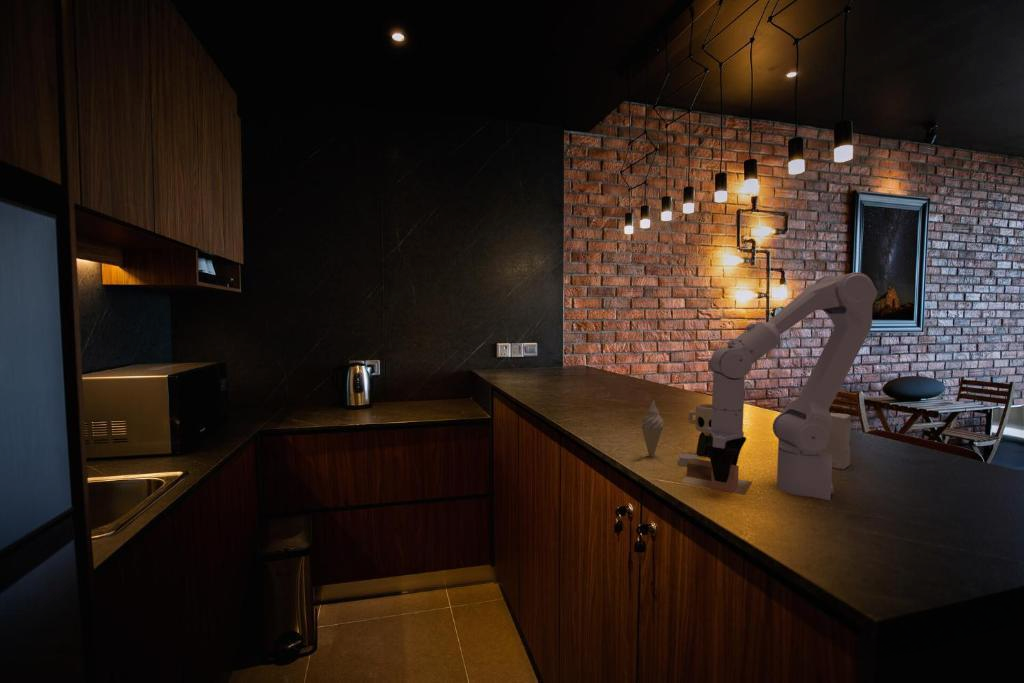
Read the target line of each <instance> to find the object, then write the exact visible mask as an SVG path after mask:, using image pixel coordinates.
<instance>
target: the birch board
mask: <svg viewBox="0 0 1024 683" xmlns="http://www.w3.org/2000/svg"><path fill="white" fill-rule="evenodd" d="M680 482H681V483H683V484H689V485H692V486H698V487H702V488H708V489H713V488H711V481H710V480H705V479H700V478H695V477H689V476H687V475H686V476H685V477H684V478H683V479H682V480H681V481H680ZM752 483H753V481H749V480H745V479H739V478H738V487H737V489H736V490H735V492H734V494H737V495H738V494H739V495H744V496H745V495H746V493H747V492H748V490H749V489H750V487H751V485H752ZM713 490H714V489H713ZM717 490H718V489H716V491H717ZM718 491H719V490H718ZM721 491H723V490H721ZM726 492H728V491H726ZM728 493H729V492H728ZM731 493H733V492H731Z"/></svg>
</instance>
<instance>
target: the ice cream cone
mask: <svg viewBox="0 0 1024 683" xmlns="http://www.w3.org/2000/svg"><path fill="white" fill-rule="evenodd" d="M646 413H647V414H646V415H644V416H643V418H642V425H641V429H642V434H643V437H644V438H643V439H644V442H645V445H646V449H647V453H648V457H650V458H654V457H655V453H656V450H657V447H658V445H659V444H658V443H659V441H660V437H661V434H662V431H663V429H664V428H663V427H664V419H663V418H662V417H661V415H660V414H659V409H658V407H657V405H656V403H655V400H654V399H652V401H651V403H650V406H649V407H648V410H647V411H646Z"/></svg>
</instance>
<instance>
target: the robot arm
mask: <svg viewBox="0 0 1024 683" xmlns="http://www.w3.org/2000/svg"><path fill="white" fill-rule="evenodd" d="M878 293H879V292H878V291H877V288H876V287H875V285H874V282H873V281H872V280H871V278H870V277H869V276H868V275H867V274H866V273H862V272H859V271H858V272H857V271H856V272H851V273H847V274H840V275H833V276H832V275H831V276H830V275H828V276H827V275H826V276H822V277H820V278H819V279H817V280H816V281H815V282H814V283H811V284H809V285H808V286H806V287H805V289H804V290H803V291H802V292H801V293H800V294H799V295H797V296H796V297H795V298H793V300H792V301H790V302H789V303H787V305H786V306H784V307H783V308H782V309H781V310H779V312H777V314H775V315H774V316H772V317H771V318H770V319H769V320H768V321H767V322H766V321H757V322H755V323H752V322H751V323H749V324H748V325H746V327H745V328H746V330H745V331H743V332H742V333H740V335H738V336H736V338H735V339H729V341H727V342H726V344H727V347H719V348H718V349H716V350H715V351H713V353H712V354H711V357H710V359H709V360H708V367H709V369H710V370H711V371H712V374H713V376H712V392H711V396H712V397H711V398H712V399H711V404H712V420H711V427H706V428H705V432H709V433H711V435H712V437H713V443H708V442H707V443H706V444H705V449H706V451H707V453H708V455H709V457H710V458H709V461H711V464H712V469H713V475H714V479H715V481H719V482H724V483H726V482H727V480H728V477H729V472H730V467H731V465H736V466H738V465H737V464H738V461H739V456H740V453H741V451H742V448H743V446H744V444H745V443H746V441H747V437H746V436H744V434H745V433H744V431H743V428H744V405H745V404H744V402H745V401H744V400H745V376H747V375H748V374H749V373H750V372H751V370H752V365H753V364H755V363H756V362H757V361H759V360H760V359H761V358H762V357H764V356H765V355H766V354H768V353H769V352H770V351H772V350H773V349H774V348H776V346H778V345H779V344H780V342H781V335H782V334H783V333H784V332H787V331H788V330H790V328H792V327H793V326H795V325H796V324H798V323H799V322H800V321H802V320H804V319H805V318H806V317H808V316H809V315H811V314H812V313H813V312H816V311H818V310H822V311H823V312H824V313H825V314H826V315H827V317H829V318H830V320H831V323H832V324H833V326H834V327H833V329H832V332H831V334H830V336H829V337H828V339H827V341H826V344H825V345H824V347H823V349H822V351H821V353H820V355H819V358H818V359H817V361H816V363H815V365H814V367H813V368H812V371H811V373H809V374H810V375H809V377H808V378H807V381H806V382H805V384H804V386H803V388H802V390H801V392H800V394H799V396H798V397H797V398H795V399H794V400H792V401H791V402H789V403H788V404H787V405H786V407H785V408H784V410H783V411H782V412H780V414H778V415H777V416H776V417H775V419H774V420H773V423H772V431H773V434H774V436H775V437H776V438H777V439H778V445H777V447H778V448H777V468H776V469H777V470H776V471H777V472H776V474H777V475H776V488H777V489H778V490H779V491H782V492H784V493H788V494H790V495H795V496H800V497H809V498H815V499H821V500H826V501H831V495H834V483H832V480H833V478H832V477H833V476H832V475H833V467H832V458H833V455H830V454H825V453H824V452H822V451H824V449H825V448H826V446H827V445H828V443H829V438H830V435H829V432H830V428H831V426H832V424H833V420H832V418H831V415H830V413H831V412H830V408H831V406H832V405H833V403H834V400H836V397H837V395H838V393H839V391H840V389H841V387H842V385H843V383H844V381H845V380H846V377H848V374H849V372H850V370H851V368H852V366H853V364H854V363H855V360H856V358H857V357H858V356H859V355H858V354H859V353H860V351H861V348H862V346H863V345H864V343H865V341H866V339H867V337H868V336H869V333H870V332H871V329H872V326H873V304H874V302H875V301H876V298H877V297H878Z"/></svg>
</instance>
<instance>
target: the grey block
mask: <svg viewBox="0 0 1024 683" xmlns="http://www.w3.org/2000/svg"><path fill="white" fill-rule="evenodd" d="M692 458H694V459H699V456H698V455H696V454H692V453H679V456H678V462H679V463H678V464H679V467H686V468H687V463H688V462H689V461H690V460H691V459H692Z"/></svg>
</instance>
